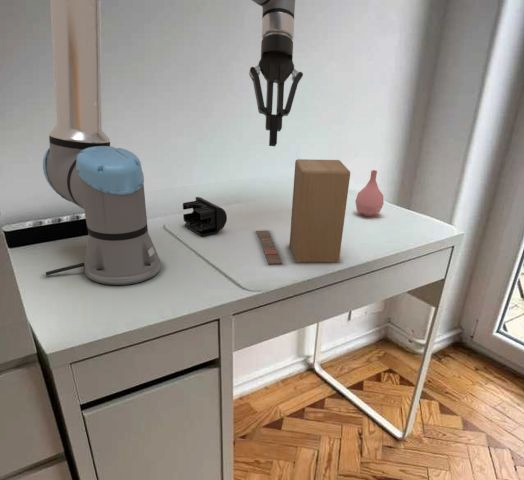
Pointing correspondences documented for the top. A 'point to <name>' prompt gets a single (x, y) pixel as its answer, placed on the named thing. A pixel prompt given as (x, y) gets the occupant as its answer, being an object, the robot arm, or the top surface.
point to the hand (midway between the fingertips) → (272, 144)
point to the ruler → (269, 248)
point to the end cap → (204, 217)
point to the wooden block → (318, 210)
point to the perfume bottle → (370, 197)
